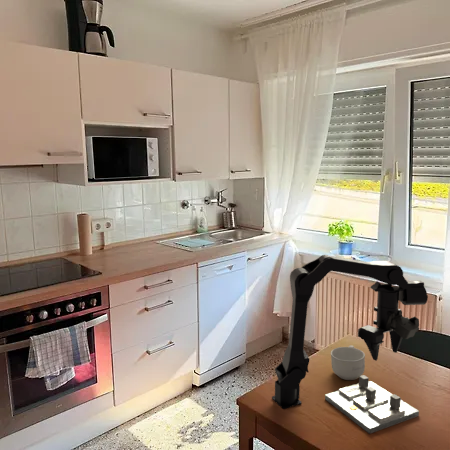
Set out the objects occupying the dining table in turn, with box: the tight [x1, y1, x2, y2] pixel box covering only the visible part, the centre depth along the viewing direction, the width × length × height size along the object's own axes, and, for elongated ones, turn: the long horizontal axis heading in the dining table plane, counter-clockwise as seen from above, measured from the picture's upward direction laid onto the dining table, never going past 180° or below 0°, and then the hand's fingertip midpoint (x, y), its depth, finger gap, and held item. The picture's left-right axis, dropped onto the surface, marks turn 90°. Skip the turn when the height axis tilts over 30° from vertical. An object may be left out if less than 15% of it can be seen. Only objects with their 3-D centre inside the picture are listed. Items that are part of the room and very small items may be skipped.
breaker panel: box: [324, 380, 420, 434], centre depth 120 cm, size 18×18×3 cm
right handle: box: [390, 393, 402, 409], centre depth 116 cm, size 2×2×3 cm
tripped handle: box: [366, 387, 376, 401], centre depth 120 cm, size 2×2×3 cm
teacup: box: [330, 345, 366, 381], centre depth 139 cm, size 14×11×8 cm
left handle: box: [358, 374, 370, 388], centre depth 127 cm, size 2×2×3 cm
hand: (385, 356), depth 123 cm, fingers open, 9 cm apart
